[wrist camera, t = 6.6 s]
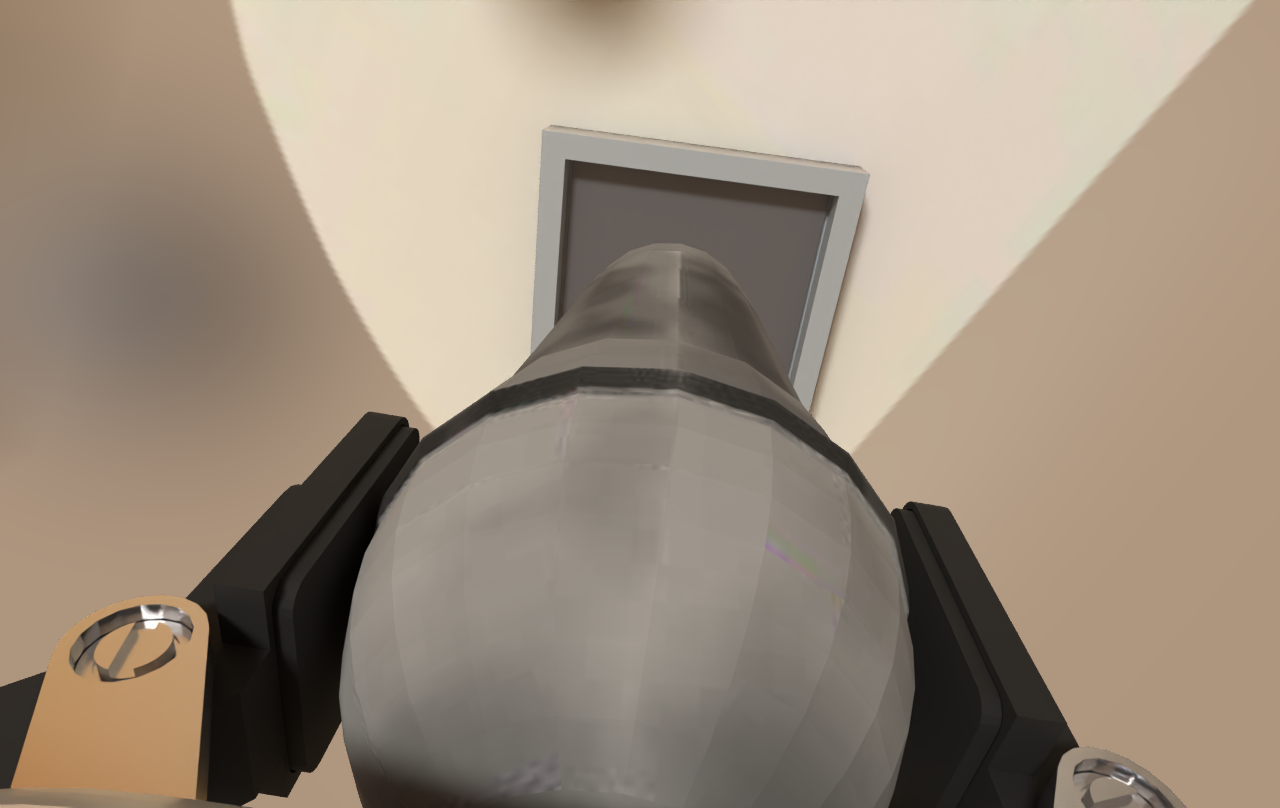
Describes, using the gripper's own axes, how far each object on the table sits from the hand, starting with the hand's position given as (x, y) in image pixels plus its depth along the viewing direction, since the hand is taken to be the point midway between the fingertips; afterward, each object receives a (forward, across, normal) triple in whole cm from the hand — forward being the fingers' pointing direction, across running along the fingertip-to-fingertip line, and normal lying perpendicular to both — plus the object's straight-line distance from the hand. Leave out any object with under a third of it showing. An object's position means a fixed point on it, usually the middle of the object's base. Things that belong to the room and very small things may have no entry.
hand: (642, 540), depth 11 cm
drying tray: (+30, -1, +6) cm, 31 cm away
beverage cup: (+10, 0, 0) cm, 10 cm away
